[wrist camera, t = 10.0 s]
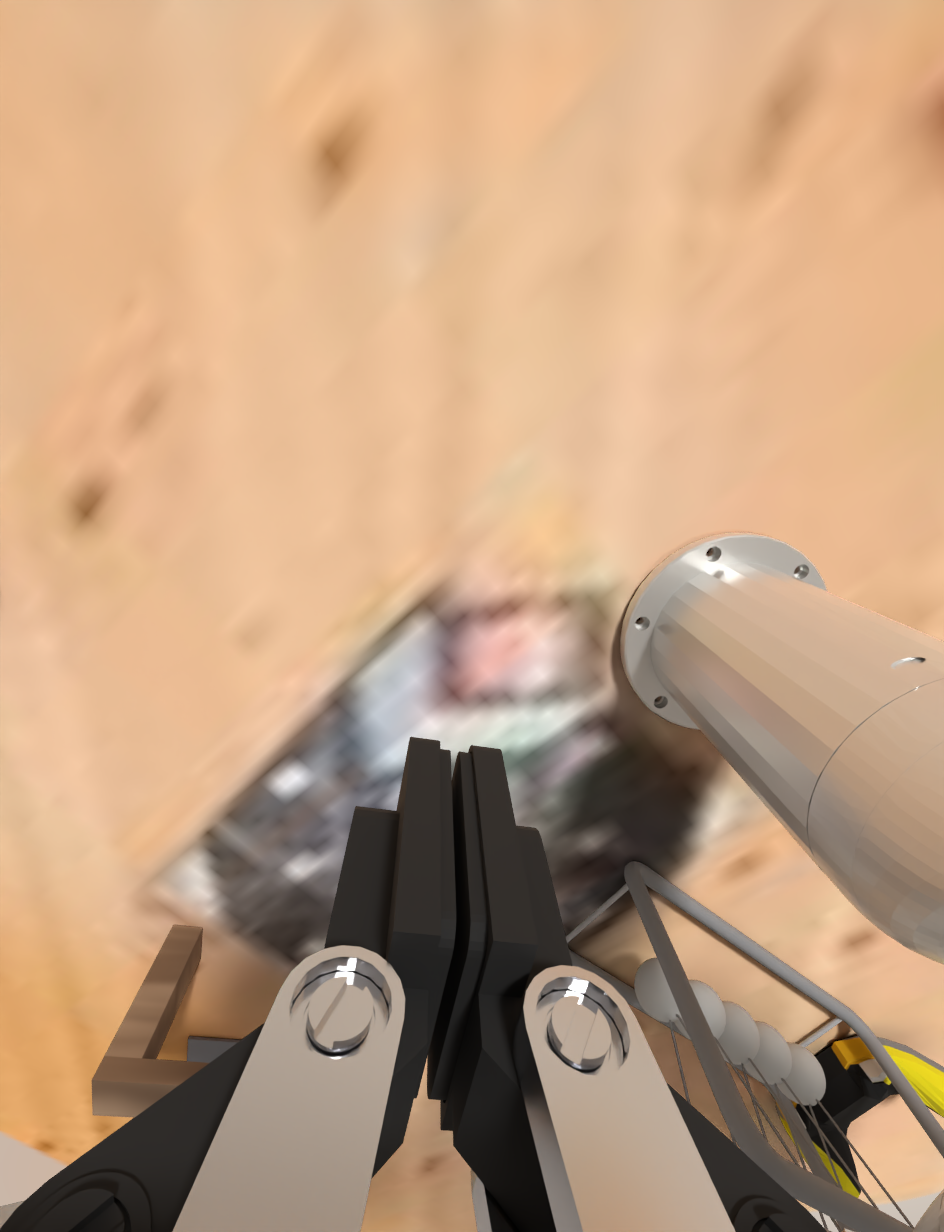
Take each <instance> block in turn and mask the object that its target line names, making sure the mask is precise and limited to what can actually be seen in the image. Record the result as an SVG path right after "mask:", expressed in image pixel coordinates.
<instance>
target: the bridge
mask: <svg viewBox="0 0 944 1232" xmlns="http://www.w3.org/2000/svg"><path fill="white" fill-rule="evenodd" d="M202 930H203V928H202V927H191V926H181V925H173V927H172V929H171V930H170V932H169V934H168V936H167V938H166V940H165V942H164V944H163V946H162V948H161V949H160V951H159V953H158V955H157V957H156V959H155V961H154V963H153V965H152V967H151V968H150V970H149V972H148V974H147V976H146V978H145V980H144V982H143V984H142V986H141V987H140V989H139V991H138V993H137V995H136V997H135V999H134V1001H133V1003H132V1005H131V1006H130V1008H129V1010H128V1012H127V1014H126V1016H125V1018H124V1020H123V1022H122V1024H121V1025H120V1027H119V1029H118V1031H117V1033H116V1035H115V1037H114V1039H113V1041H112V1043H111V1044H110V1046H109V1048H108V1050H107V1052H106V1054H105V1056H104V1058H103V1060H102V1062H101V1063H100V1065H99V1067H98V1069H97V1071H96V1073H95V1075H94V1077H93V1079H92V1106H93V1115H99V1116H118V1117H136V1116H137V1115H139V1114H140V1113H141V1112H143V1111H144V1110H146V1109H147V1108H148V1107H150V1106H151V1105H152V1104H154V1103H155V1102H157V1101H158V1100H159V1099H161V1098H162V1097H163V1096H165V1095H166V1094H168V1093H169V1092H170V1091H172V1090H173V1089H174V1088H176V1087H177V1086H179V1085H180V1084H181V1083H183V1082H184V1081H185V1080H187V1079H188V1078H190V1077H191V1076H192V1075H194V1074H195V1073H196V1072H198V1071H199V1070H201V1069H202V1068H203V1067H205V1066H206V1065H207V1064H209V1063H205V1062H190V1061H174V1060H159V1059H156V1058H157V1056H158V1054H159V1051H160V1049H161V1047H162V1045H163V1042H164V1040H165V1038H166V1035H167V1033H168V1031H169V1029H170V1026H171V1024H172V1022H173V1020H174V1017H175V1015H176V1013H177V1011H178V1008H179V1006H180V1004H181V1002H182V999H183V997H184V995H185V993H186V990H187V988H188V986H189V983H190V981H191V979H192V977H193V974H194V972H195V970H196V968H197V965H198V963H199V961H200V959H201V946H202Z"/></svg>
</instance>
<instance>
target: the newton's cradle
mask: <svg viewBox="0 0 944 1232" xmlns="http://www.w3.org/2000/svg"><path fill="white" fill-rule="evenodd" d="M624 877H625V880H626V884H625V885H624V886H623V887H622V888H620V889H619V890H618V891H617V892H616V893H615V894H614V895H613V896H611V897H610V898H609V899H608V900H607V901H606V902H605V903H603V904H602V905H601V906H600V907H599V908H598V909H597V910H596V911H594V912H593V913H592V914H591V915H590V916H589V917H588V918H586V919H585V920H584V921H583V922H582V923H581V924H580V925H578V926H577V927H576V928H575V929H574V930H573V931H572V932H571V933H569V934H568V935H567V936H566V940H567V943H568V942H569V941H571V940H572V939H573V938H574V937H575V936H576V935H577V934H578V933H580V932H581V931H582V930H583V929H584V928H585V927H586V926H588V925H589V924H590V923H591V922H592V921H593V920H594V919H596V918H597V917H598V916H599V915H600V914H601V913H602V912H604V911H605V910H606V909H607V908H608V907H609V906H610V905H612V904H613V903H614V902H615V901H616V900H617V899H618V898H620V897H621V896H622V895H623V894H624V893H625V892H626V891H628V890H629V891H630V893H631V896H632V898H633V900H634V903H635V905H636V908H637V910H638V913H639V915H640V917H641V920H642V922H643V925H644V927H645V929H646V932H647V934H648V937H649V939H650V942H651V944H652V946H653V949H654V951H655V954H656V956H657V958H651V959H648V960H646V961H645V962H644V963H643V964H641V965H640V967H639V968H638V970H637V973H636V975H635V981H634V985H635V989H633V988H632V987H630V986H628V985H627V984H625V983H623V982H622V981H620V980H618V979H617V978H615V977H613V976H612V975H610V974H609V973H607V972H605V971H604V970H602V969H600V968H599V967H597V966H595V965H594V964H592V963H590V962H589V961H587V960H585V959H584V958H582V957H581V956H579V955H577V954H576V953H574V952H572V951H571V950H569V952H570V956H571V960H572V964H573V966H576V967H580V968H582V969H585V970H587V971H590V972H593V973H595V974H596V975H598V976H599V977H601V978H602V979H604V980H605V981H607V982H608V983H609V984H611V985H612V986H613V987H614V988H615V989H616V990H617V992H618V993H619V994H620V995H621V996H622V997H623V998H624V999H625V1000H626V1002H627V1003H628V1004H630V1005H632V1006H633V1007H635V1008H637V1009H638V1010H640V1011H642V1012H644V1013H645V1014H647V1015H649V1016H650V1017H652V1018H654V1019H655V1020H657V1021H659V1022H660V1023H662V1024H664V1025H665V1026H667V1027H669V1028H670V1029H671V1034H672V1038H673V1042H674V1047H675V1051H676V1055H677V1060H678V1064H679V1068H680V1072H681V1077H682V1081H683V1085H684V1090H685V1094H686V1098H687V1102H688V1103H689V1104H690V1100H689V1095H688V1091H687V1087H686V1083H685V1078H684V1074H683V1070H682V1066H681V1061H680V1057H679V1053H678V1049H677V1044H676V1040H675V1036H674V1032H673V1030H674V1031H675V1032H677V1033H679V1034H680V1035H682V1036H684V1037H685V1038H687V1039H689V1040H691V1041H692V1043H693V1046H694V1048H695V1050H696V1053H697V1055H698V1058H699V1060H700V1062H701V1065H702V1067H703V1070H704V1072H705V1075H706V1077H707V1079H708V1082H709V1084H710V1087H711V1089H712V1092H713V1094H714V1096H715V1099H716V1101H717V1104H718V1106H719V1108H720V1111H721V1113H722V1115H723V1118H724V1120H725V1122H726V1124H727V1126H728V1128H729V1130H730V1133H731V1137H732V1141H733V1143H734V1144H735V1145H736V1142H737V1144H738V1146H739V1147H740V1149H741V1150H742V1151H743V1152H744V1153H745V1154H746V1155H747V1156H748V1157H749V1158H750V1159H751V1160H752V1161H754V1162H755V1163H756V1164H757V1165H758V1166H759V1167H760V1168H761V1169H762V1170H764V1171H765V1172H766V1173H767V1174H768V1175H769V1176H770V1177H771V1178H772V1179H773V1180H775V1181H776V1182H777V1183H778V1184H779V1185H780V1186H781V1187H782V1188H783V1189H784V1190H786V1191H787V1192H788V1193H789V1194H790V1195H791V1196H792V1197H793V1198H795V1199H797V1200H799V1201H801V1202H803V1203H805V1204H807V1205H809V1206H810V1207H812V1208H814V1209H816V1210H818V1211H819V1213H820V1216H821V1219H822V1222H823V1225H824V1227H825V1228H824V1229H825V1230H826V1231H827V1232H831V1231H829V1230H828V1228H827V1225H826V1223H825V1220H824V1217H823V1214H822V1213H824V1214H826V1215H828V1216H830V1218H831V1220H832V1221H833V1223H834V1224H835V1226H836V1227H837V1229H838V1231H839V1232H842V1231H843V1229H844V1228H845V1229H848V1230H851V1231H854V1232H913V1230H914V1227H913V1225H912V1224H911V1223H910V1222H909V1220H908V1219H907V1217H906V1216H905V1215H904V1213H903V1212H902V1211H901V1209H900V1208H899V1207H898V1205H897V1204H896V1203H895V1201H894V1200H893V1199H892V1197H891V1196H890V1195H889V1193H888V1192H887V1191H886V1189H885V1188H884V1187H883V1185H882V1184H881V1183H880V1181H879V1180H878V1179H877V1177H876V1176H875V1175H874V1173H873V1172H872V1171H871V1169H870V1168H869V1167H868V1165H867V1164H866V1163H865V1161H864V1160H863V1159H862V1157H861V1156H860V1155H859V1153H858V1152H857V1151H856V1149H855V1148H854V1147H853V1145H852V1144H851V1143H850V1141H849V1140H848V1139H847V1137H846V1136H845V1135H844V1133H843V1132H842V1131H841V1129H840V1128H839V1127H838V1125H837V1124H836V1123H835V1121H834V1120H833V1119H832V1117H831V1116H830V1115H829V1113H828V1112H827V1111H826V1109H825V1108H824V1107H823V1105H822V1104H821V1103H820V1100H821V1099H822V1097H823V1095H824V1093H825V1089H826V1079H825V1075H824V1072H823V1069H822V1067H821V1065H820V1063H819V1062H818V1060H817V1059H816V1057H815V1056H814V1055H813V1054H812V1053H811V1052H810V1051H809V1050H807V1049H806V1048H805V1047H806V1046H808V1045H809V1044H811V1043H812V1042H813V1041H815V1040H816V1039H818V1038H819V1037H820V1036H822V1035H823V1034H825V1033H826V1032H827V1031H829V1030H830V1029H832V1028H833V1027H834V1026H836V1025H837V1024H838V1023H840V1022H841V1021H844V1022H846V1023H847V1024H848V1025H849V1026H850V1027H851V1028H852V1029H853V1030H854V1032H855V1033H856V1034H857V1035H858V1036H859V1037H860V1039H861V1040H862V1041H863V1043H864V1044H865V1045H866V1047H867V1048H868V1049H869V1051H870V1052H871V1054H872V1055H873V1057H874V1058H875V1060H876V1061H877V1062H878V1064H879V1065H880V1067H881V1068H882V1070H883V1071H884V1073H885V1074H886V1075H887V1077H888V1078H889V1080H890V1081H891V1083H892V1084H893V1086H894V1087H895V1088H896V1090H897V1091H898V1093H899V1094H900V1096H901V1097H902V1099H903V1100H904V1101H905V1103H906V1104H907V1106H908V1107H909V1109H910V1110H911V1112H912V1113H913V1115H914V1116H915V1117H916V1119H917V1120H918V1122H919V1123H920V1125H921V1126H922V1128H923V1129H924V1130H925V1132H926V1133H927V1135H928V1136H929V1138H930V1139H931V1141H932V1142H933V1143H934V1145H935V1146H936V1148H937V1149H938V1151H939V1152H940V1154H941V1155H942V1156H943V1158H944V1130H943V1129H942V1127H941V1126H940V1125H939V1123H938V1122H937V1120H936V1119H935V1118H934V1116H933V1115H932V1113H931V1112H930V1111H929V1109H928V1108H927V1107H926V1105H925V1104H924V1102H923V1101H922V1100H921V1098H920V1097H919V1095H918V1094H917V1093H916V1091H915V1090H914V1088H913V1087H912V1086H911V1084H910V1083H909V1081H908V1080H907V1079H906V1077H905V1076H904V1074H903V1073H902V1072H901V1070H900V1069H899V1068H898V1066H897V1065H896V1063H895V1062H894V1061H893V1059H892V1058H891V1056H890V1055H889V1054H888V1052H887V1051H886V1049H885V1048H884V1047H883V1045H882V1044H881V1042H880V1041H879V1040H878V1038H877V1037H876V1036H875V1035H874V1033H873V1032H872V1031H871V1030H870V1028H869V1027H868V1026H867V1025H866V1024H865V1023H864V1022H863V1021H862V1019H861V1018H860V1017H859V1016H857V1015H856V1014H855V1013H854V1012H853V1011H852V1010H851V1009H850V1008H848V1007H847V1006H845V1005H844V1004H842V1003H841V1002H840V1001H838V1000H837V999H835V998H834V997H832V996H831V995H830V994H828V993H827V992H825V991H824V990H823V989H821V988H820V987H818V986H817V985H815V984H814V983H813V982H811V981H810V980H808V979H807V978H805V977H804V976H803V975H801V974H800V973H798V972H797V971H795V970H794V969H793V968H791V967H790V966H788V965H787V964H785V963H784V962H783V961H781V960H780V959H778V958H777V957H775V956H774V955H773V954H771V953H770V952H768V951H767V950H765V949H764V948H763V947H761V946H760V945H758V944H757V943H756V942H754V941H753V940H751V939H750V938H748V937H747V936H746V935H744V934H743V933H741V932H740V931H738V930H737V929H736V928H734V927H733V926H731V925H730V924H728V923H727V922H726V921H724V920H723V919H721V918H720V917H718V916H717V915H716V914H714V913H713V912H711V911H710V910H708V909H707V908H706V907H704V906H703V905H701V904H700V903H698V902H697V901H696V900H694V899H693V898H691V897H690V896H688V895H687V894H686V893H684V892H683V891H681V890H680V889H679V888H677V887H676V886H674V885H673V884H671V883H670V882H669V881H667V880H666V879H664V878H663V877H661V876H660V875H659V874H657V873H656V872H654V871H653V870H651V869H650V868H649V867H647V866H645V865H644V864H642V863H640V862H636V861H632V862H630V863H628V864H627V865H626V866H625V869H624ZM645 885H647V886H648V887H650V888H651V889H653V890H654V891H656V892H657V893H658V894H660V895H661V896H663V897H664V898H666V899H667V900H669V901H670V902H672V903H673V904H674V905H676V906H677V907H679V908H680V909H682V910H683V911H685V912H686V913H688V914H689V915H690V916H692V917H693V918H695V919H696V920H698V921H699V922H701V923H702V924H704V925H705V926H706V927H708V928H709V929H711V930H712V931H714V932H715V933H717V934H718V935H720V936H721V937H722V938H724V939H725V940H727V941H728V942H730V943H731V944H733V945H734V946H736V947H737V948H738V949H740V950H741V951H743V952H744V953H746V954H747V955H749V956H750V957H752V958H753V959H754V960H756V961H757V962H759V963H760V964H762V965H763V966H765V967H766V968H768V969H769V970H770V971H772V972H773V973H775V974H776V975H778V976H779V977H781V978H782V979H784V980H785V981H786V982H788V983H789V984H791V985H792V986H794V987H795V988H797V989H798V990H800V991H801V992H802V993H804V994H805V995H807V996H808V997H810V998H811V999H813V1000H814V1001H816V1002H817V1003H818V1004H820V1005H821V1006H823V1007H824V1008H826V1009H827V1010H829V1011H830V1012H832V1013H833V1014H834V1015H836V1016H837V1017H836V1018H834V1019H833V1020H832V1021H830V1022H829V1023H827V1024H826V1025H825V1026H823V1027H822V1028H820V1029H819V1030H818V1031H816V1032H815V1033H813V1034H812V1035H811V1036H809V1037H808V1038H806V1039H805V1040H804V1041H802V1042H801V1043H800V1044H796V1043H790V1042H786V1041H785V1039H784V1038H783V1036H782V1035H781V1034H780V1033H779V1032H778V1031H777V1030H776V1029H775V1028H773V1027H772V1026H770V1025H768V1024H766V1023H764V1022H759V1021H754V1020H753V1018H752V1017H751V1015H750V1014H749V1013H748V1012H747V1011H746V1010H745V1009H743V1008H742V1007H741V1006H739V1005H737V1004H735V1003H733V1002H729V1001H721V999H720V997H719V996H718V994H717V993H716V992H715V991H714V990H713V989H712V988H711V987H709V986H708V985H707V984H705V983H703V982H701V981H697V980H688V979H687V976H686V974H685V972H684V970H683V967H682V965H681V963H680V961H679V959H678V956H677V954H676V952H675V950H674V948H673V945H672V943H671V941H670V939H669V937H668V934H667V932H666V930H665V928H664V925H663V923H662V921H661V919H660V917H659V914H658V912H657V910H656V908H655V906H654V903H653V901H652V899H651V897H650V895H649V892H648V890H647V888H646V886H645ZM725 1061H726V1062H727V1063H729V1064H731V1066H732V1067H733V1069H734V1070H735V1072H736V1073H737V1075H738V1076H739V1078H740V1079H741V1081H742V1083H743V1084H744V1086H745V1087H746V1089H747V1090H748V1092H749V1093H750V1095H751V1098H752V1102H753V1105H754V1108H755V1111H756V1114H757V1117H758V1121H759V1124H760V1127H761V1130H762V1133H763V1135H762V1134H761V1133H760V1131H759V1129H758V1128H757V1126H756V1125H755V1123H754V1121H753V1120H752V1118H751V1116H750V1114H749V1112H748V1110H747V1108H746V1106H745V1104H744V1102H743V1100H742V1098H741V1096H740V1093H739V1091H738V1089H737V1087H736V1085H735V1082H734V1080H733V1078H732V1076H731V1073H730V1071H729V1069H728V1067H727V1065H726V1062H725ZM736 1068H738V1069H739V1070H741V1071H743V1073H744V1076H745V1080H746V1083H747V1084H746V1083H745V1081H744V1080H743V1078H742V1077H741V1075H740V1074H739V1072H738V1070H737V1069H736ZM746 1074H748V1075H749V1076H751V1077H753V1078H754V1079H756V1080H758V1081H759V1082H761V1083H762V1084H763V1085H764V1086H765V1087H766V1088H767V1089H768V1091H769V1092H770V1093H771V1094H772V1096H773V1097H774V1099H775V1100H776V1102H777V1104H778V1106H779V1107H780V1109H781V1111H782V1113H783V1115H784V1117H785V1119H786V1121H787V1123H788V1125H789V1128H790V1131H791V1134H792V1137H793V1140H794V1142H795V1145H796V1148H797V1151H798V1154H799V1157H800V1159H801V1162H802V1165H803V1168H804V1169H803V1168H801V1167H800V1165H799V1164H798V1162H797V1161H796V1159H795V1158H794V1156H793V1155H792V1153H791V1152H790V1150H789V1148H788V1147H787V1145H786V1144H785V1142H784V1141H783V1139H782V1138H781V1136H780V1135H779V1133H778V1132H777V1130H776V1129H775V1127H774V1126H773V1124H772V1122H771V1121H770V1119H769V1118H768V1116H767V1115H766V1113H765V1112H764V1110H763V1109H762V1107H761V1106H760V1104H759V1103H758V1101H757V1100H756V1098H755V1096H754V1095H753V1093H752V1091H751V1088H750V1085H749V1081H748V1078H747V1075H746ZM791 1100H792V1101H794V1102H796V1103H798V1104H800V1105H801V1107H802V1108H803V1109H804V1111H805V1112H806V1114H807V1115H808V1116H809V1118H810V1119H811V1121H812V1122H813V1123H814V1125H815V1126H816V1127H817V1129H818V1132H819V1134H820V1137H821V1140H822V1142H823V1145H824V1148H825V1150H826V1153H827V1156H828V1158H829V1161H830V1164H831V1166H832V1169H833V1172H834V1174H835V1177H836V1180H837V1182H838V1184H837V1182H836V1181H835V1179H834V1178H833V1177H832V1175H831V1174H830V1172H829V1171H828V1169H827V1168H826V1166H825V1165H824V1163H823V1161H822V1159H821V1157H820V1155H819V1154H818V1152H817V1150H816V1148H815V1146H814V1144H813V1142H812V1140H811V1138H810V1136H809V1134H808V1133H807V1131H806V1129H805V1127H804V1125H803V1123H802V1121H801V1119H800V1117H799V1115H798V1113H797V1112H796V1110H795V1108H794V1106H793V1104H792V1102H791ZM817 1102H818V1103H819V1105H820V1106H821V1107H822V1109H823V1110H824V1112H825V1113H826V1114H827V1116H828V1117H829V1118H830V1120H831V1121H832V1122H833V1124H834V1125H835V1126H836V1128H837V1129H838V1130H839V1132H840V1133H841V1134H842V1136H843V1137H844V1138H845V1140H846V1141H847V1142H848V1144H849V1145H850V1146H851V1148H852V1149H853V1150H854V1152H855V1153H856V1154H857V1156H858V1157H859V1159H860V1160H861V1161H862V1163H863V1164H864V1165H865V1167H866V1168H867V1169H868V1171H869V1172H870V1173H871V1175H872V1176H873V1177H874V1179H875V1180H876V1181H877V1183H878V1184H879V1185H880V1187H881V1188H882V1189H883V1191H884V1192H885V1193H886V1195H887V1196H888V1197H889V1199H890V1200H891V1201H892V1203H893V1204H894V1205H895V1207H896V1208H897V1210H898V1211H899V1212H900V1214H901V1215H902V1216H903V1217H904V1219H905V1220H906V1222H907V1223H908V1224H909V1225H910V1227H909V1226H907V1225H906V1224H904V1223H902V1222H900V1221H898V1220H896V1219H895V1218H893V1217H891V1216H889V1215H887V1214H885V1213H884V1212H882V1211H880V1210H879V1209H878V1208H877V1206H876V1205H875V1203H874V1202H873V1201H872V1199H871V1198H870V1197H869V1195H868V1194H867V1192H866V1191H865V1190H864V1188H863V1187H862V1186H861V1184H860V1183H859V1181H858V1180H857V1179H856V1177H855V1176H854V1175H853V1173H852V1172H851V1170H850V1169H849V1168H848V1166H847V1165H846V1163H845V1162H844V1161H843V1159H842V1158H841V1157H840V1155H839V1154H838V1152H837V1151H836V1150H835V1148H834V1147H833V1146H832V1144H831V1143H830V1141H829V1140H828V1139H827V1137H826V1136H825V1135H824V1133H823V1132H822V1130H821V1129H820V1128H819V1126H818V1123H817V1120H816V1118H815V1115H814V1112H813V1110H812V1107H811V1105H812V1106H815V1105H816V1104H817ZM756 1104H757V1106H758V1107H759V1109H760V1110H761V1112H762V1113H763V1115H764V1116H765V1118H766V1120H767V1121H768V1123H769V1124H770V1126H771V1127H772V1129H773V1130H774V1132H775V1133H776V1135H777V1137H778V1138H779V1140H780V1141H781V1143H782V1144H783V1146H784V1147H785V1149H786V1150H787V1152H788V1153H789V1155H790V1157H791V1158H792V1160H793V1161H794V1163H795V1164H794V1163H792V1162H790V1161H789V1160H787V1159H785V1158H783V1157H782V1156H780V1155H779V1154H778V1153H777V1152H776V1151H775V1150H774V1149H773V1148H772V1147H771V1146H770V1145H769V1143H768V1141H767V1138H766V1135H765V1131H764V1128H763V1125H762V1122H761V1119H760V1116H759V1113H758V1110H757V1106H756ZM803 1105H809V1108H810V1111H811V1113H812V1116H813V1118H812V1117H811V1115H810V1114H809V1113H808V1111H807V1110H806V1108H805V1107H804V1106H803ZM763 1136H764V1137H763ZM823 1137H824V1139H825V1140H826V1141H827V1143H828V1144H829V1145H830V1147H831V1148H832V1150H833V1151H834V1152H835V1154H836V1155H837V1157H838V1158H839V1159H840V1161H841V1162H842V1164H843V1165H844V1166H845V1168H846V1169H847V1170H848V1172H849V1173H850V1175H851V1176H852V1177H853V1179H854V1180H855V1182H856V1183H857V1184H858V1186H859V1187H860V1188H861V1190H862V1191H863V1193H864V1194H865V1195H866V1197H867V1198H868V1200H869V1201H870V1202H871V1204H872V1205H873V1206H874V1207H873V1206H871V1205H869V1204H867V1203H865V1202H864V1201H862V1200H860V1199H858V1198H856V1197H854V1196H853V1195H851V1194H849V1193H847V1192H845V1191H843V1189H842V1186H841V1184H840V1181H839V1178H838V1176H837V1173H836V1170H835V1168H834V1165H833V1162H832V1160H831V1157H830V1155H829V1152H828V1149H827V1147H826V1144H825V1141H824V1139H823ZM735 1141H736V1142H735ZM797 1143H798V1144H797ZM798 1145H799V1147H800V1149H801V1151H802V1153H803V1155H804V1157H805V1159H806V1161H807V1163H808V1165H809V1167H810V1169H811V1171H812V1173H813V1174H812V1173H811V1172H809V1171H807V1169H806V1166H805V1164H804V1161H803V1158H802V1155H801V1152H800V1149H799V1147H798ZM736 1146H737V1145H736ZM835 1220H836V1221H837V1222H836V1221H835Z"/></svg>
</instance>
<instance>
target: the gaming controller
mask: <svg viewBox="0 0 944 1232" xmlns="http://www.w3.org/2000/svg"><path fill="white" fill-rule="evenodd" d="M877 1038H878V1040H879V1041H880V1042H881V1044H882V1045H883V1047H884V1048H885V1049H886V1051H887V1052H888V1054H889V1055H890V1056H891V1058H892V1059H893V1061H894V1062H895V1063H896V1065H897V1066H898V1068H899V1069H900V1070H901V1072H902V1073H903V1074H904V1076H905V1077H906V1079H907V1080H908V1081H909V1083H910V1084H911V1086H912V1087H913V1088H914V1090H915V1091H916V1093H917V1094H918V1095H919V1097H920V1098H921V1100H922V1101H923V1102H924V1104H925V1105H926V1107H928V1108H929V1109H931V1110H933V1111H934V1112H936V1113H937V1114H939V1115H940V1116H942V1117H944V1067H943V1066H941V1065H939V1064H937V1063H936V1062H934V1061H932V1060H930V1059H929V1058H927V1057H925V1056H923V1055H922V1054H920V1053H918V1052H916V1051H915V1050H913V1049H911V1048H909V1047H907V1046H905V1045H902V1044H899V1043H896V1042H893V1041H890V1040H887V1039H885V1038H879V1037H877ZM816 1059H817V1060H818V1062H819V1063H820V1065H821V1067H822V1069H823V1072H824V1075H825V1079H826V1089H825V1093H824V1095H823V1097H822V1099H821V1100H820V1103H821V1104H822V1105H823V1107H824V1108H825V1109H826V1111H827V1112H828V1113H829V1115H830V1116H831V1117H832V1119H833V1120H834V1121H835V1123H836V1124H837V1125H838V1127H839V1128H840V1129H841V1131H842V1132H843V1133H844V1135H845V1136H846V1135H847V1128H848V1127H849V1125H850V1123H851V1122H852V1121H853V1120H855V1119H856V1118H858V1117H859V1116H861V1115H862V1114H864V1113H865V1112H867V1111H868V1110H870V1109H871V1108H873V1107H874V1106H876V1105H877V1104H878V1103H880V1102H881V1101H883V1100H884V1099H885V1098H887V1097H888V1096H890V1095H895V1094H899V1093H898V1091H897V1090H896V1088H895V1087H894V1086H893V1084H892V1083H891V1081H890V1080H889V1078H888V1077H887V1075H886V1074H885V1073H884V1071H883V1070H882V1068H881V1067H880V1065H879V1064H878V1062H877V1061H876V1060H875V1058H874V1057H873V1055H872V1054H871V1052H870V1051H869V1049H868V1048H867V1047H866V1045H865V1044H864V1043H863V1041H862V1040H861V1039H860V1037H859V1036H856V1037H851V1038H847V1039H843V1040H841V1041H836V1042H834V1043H833V1045H832V1047H831V1046H830V1047H829V1048H827V1049H826V1050H824V1051H823V1052H822V1053H820V1054H819V1055H818V1056H816ZM791 1102H792V1104H793V1106H794V1108H795V1110H796V1112H797V1113H798V1115H799V1117H800V1119H801V1121H802V1123H803V1125H804V1127H805V1129H806V1131H807V1133H808V1134H809V1136H810V1138H811V1140H812V1142H813V1144H814V1146H815V1148H816V1150H817V1152H818V1154H819V1155H820V1157H821V1159H822V1161H823V1163H824V1165H825V1166H826V1168H827V1169H828V1171H829V1172H830V1174H831V1175H832V1177H833V1178H834V1179H835V1181H836V1182H837V1180H836V1177H835V1174H834V1172H833V1169H832V1166H831V1164H830V1161H829V1158H828V1156H827V1153H826V1150H825V1148H824V1145H823V1142H822V1140H821V1137H820V1134H819V1132H818V1129H817V1127H816V1126H815V1125H814V1123H813V1122H812V1121H811V1119H810V1118H809V1116H808V1115H807V1114H806V1112H805V1111H804V1109H803V1108H802V1107H801V1105H800V1104H798V1103H796V1102H794V1101H792V1100H791ZM776 1104H777V1102H776ZM803 1106H804V1107H805V1108H806V1110H807V1111H808V1113H809V1114H810V1115H811V1117H812V1118H813V1116H812V1113H811V1111H810V1108H809V1105H803ZM811 1107H812V1110H813V1112H814V1115H815V1118H816V1120H817V1123H818V1126H819V1128H820V1129H821V1130H822V1132H823V1133H824V1135H825V1136H826V1137H827V1139H828V1140H829V1141H830V1143H831V1144H832V1146H833V1147H834V1148H835V1150H836V1151H837V1152H838V1154H839V1155H840V1157H841V1158H842V1159H843V1161H844V1162H845V1163H846V1165H847V1166H848V1168H849V1169H850V1170H851V1172H852V1173H853V1175H854V1176H855V1177H856V1179H857V1180H858V1176H857V1171H856V1167H855V1163H854V1160H853V1157H852V1154H851V1151H850V1148H849V1145H848V1142H847V1141H846V1140H845V1138H844V1137H843V1136H842V1134H841V1133H840V1132H839V1130H838V1129H837V1128H836V1126H835V1125H834V1124H833V1122H832V1121H831V1120H830V1118H829V1117H828V1116H827V1114H826V1113H825V1112H824V1110H823V1109H822V1107H821V1106H820V1105H819V1103H818V1102H817V1104H816V1105H815V1106H812V1105H811ZM776 1110H777V1113H778V1115H779V1117H780V1119H781V1121H782V1124H783V1126H784V1128H785V1130H786V1132H787V1133H788V1135H789V1136H790V1138H791V1140H792V1141H793V1143H794V1144H795V1142H794V1140H793V1137H792V1134H791V1131H790V1128H789V1125H788V1123H787V1121H786V1119H785V1117H784V1115H783V1113H782V1111H781V1109H780V1107H779V1106H778V1104H777V1105H776ZM823 1139H824V1137H823ZM824 1141H825V1144H826V1147H827V1149H828V1152H829V1155H830V1157H831V1160H832V1162H833V1165H834V1168H835V1170H836V1173H837V1176H838V1178H839V1181H840V1184H841V1186H842V1189H843V1191H845V1192H847V1193H849V1194H851V1195H853V1196H854V1197H856V1198H858V1197H859V1195H860V1193H861V1188H860V1187H859V1186H858V1184H857V1183H856V1182H855V1180H854V1179H853V1177H852V1176H851V1175H850V1173H849V1172H848V1170H847V1169H846V1168H845V1166H844V1165H843V1164H842V1162H841V1161H840V1159H839V1158H838V1157H837V1155H836V1154H835V1152H834V1151H833V1150H832V1148H831V1147H830V1145H829V1144H828V1143H827V1141H826V1140H825V1139H824ZM797 1144H798V1143H797ZM795 1146H796V1145H795ZM798 1147H799V1145H798ZM799 1149H800V1147H799ZM800 1152H801V1155H802V1156H803V1158H804V1159H805V1157H804V1155H803V1153H802V1151H801V1149H800ZM805 1161H806V1159H805ZM806 1162H807V1161H806ZM807 1164H808V1163H807ZM858 1181H859V1180H858ZM837 1184H838V1182H837Z"/></svg>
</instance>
